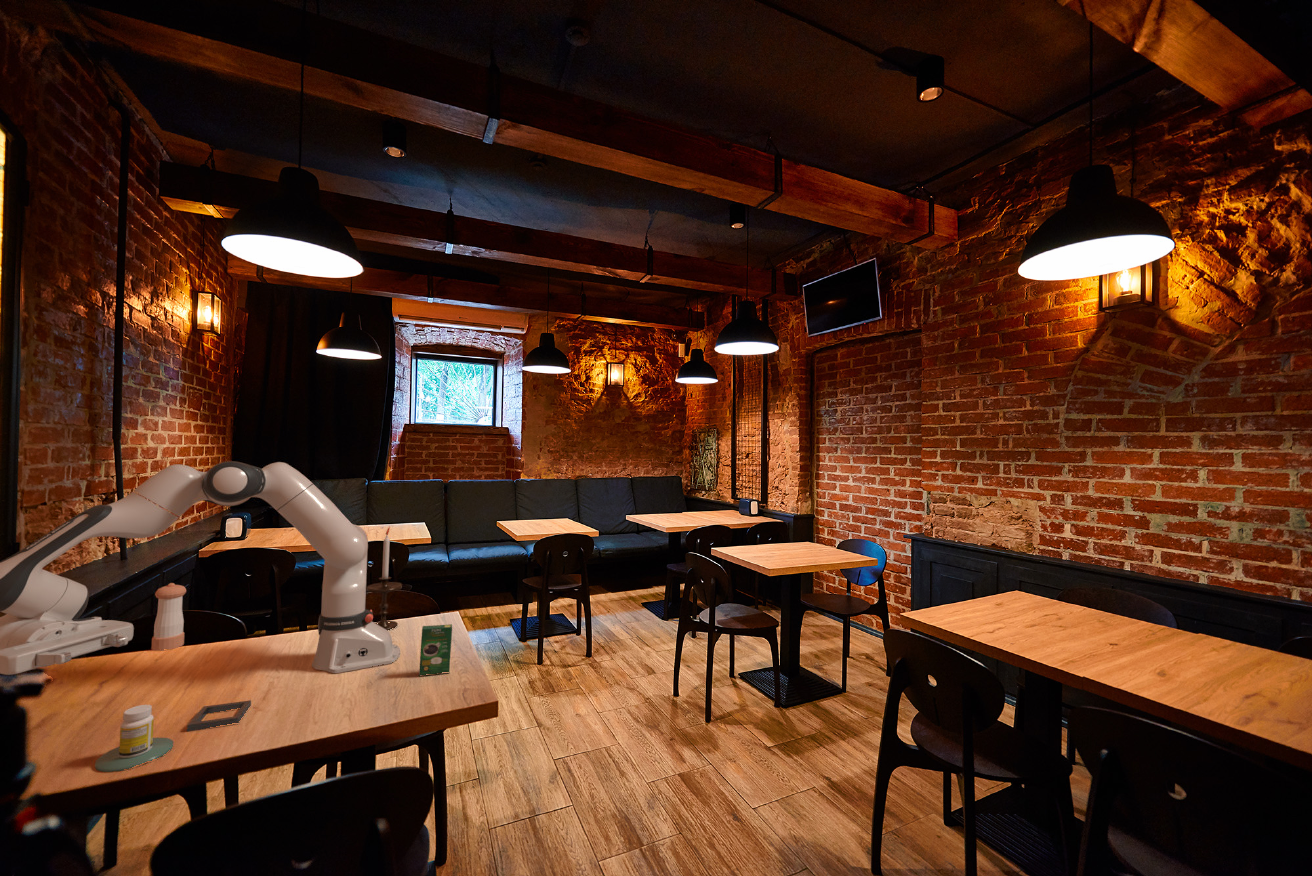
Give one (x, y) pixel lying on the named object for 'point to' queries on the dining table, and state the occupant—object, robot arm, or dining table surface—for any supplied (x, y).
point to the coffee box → (435, 649)
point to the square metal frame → (198, 724)
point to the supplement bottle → (136, 731)
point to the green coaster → (116, 763)
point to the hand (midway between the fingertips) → (96, 649)
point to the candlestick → (385, 587)
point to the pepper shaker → (169, 618)
